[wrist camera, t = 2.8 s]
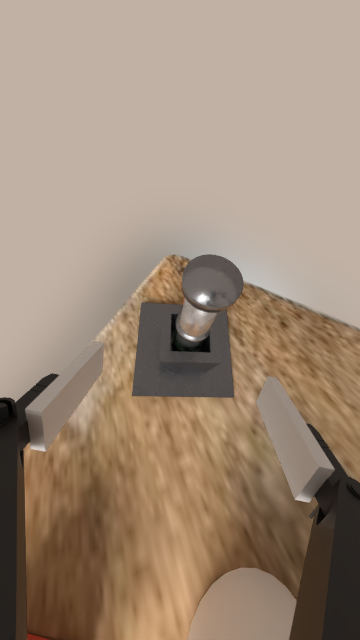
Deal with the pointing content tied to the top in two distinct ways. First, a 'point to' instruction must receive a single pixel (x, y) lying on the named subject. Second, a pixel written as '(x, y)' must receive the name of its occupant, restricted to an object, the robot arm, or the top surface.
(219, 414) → the top surface
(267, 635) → the cylinder
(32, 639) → the cracker box
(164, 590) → the top surface
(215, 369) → the square socket stand
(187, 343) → the silver mushroom-headed rod
